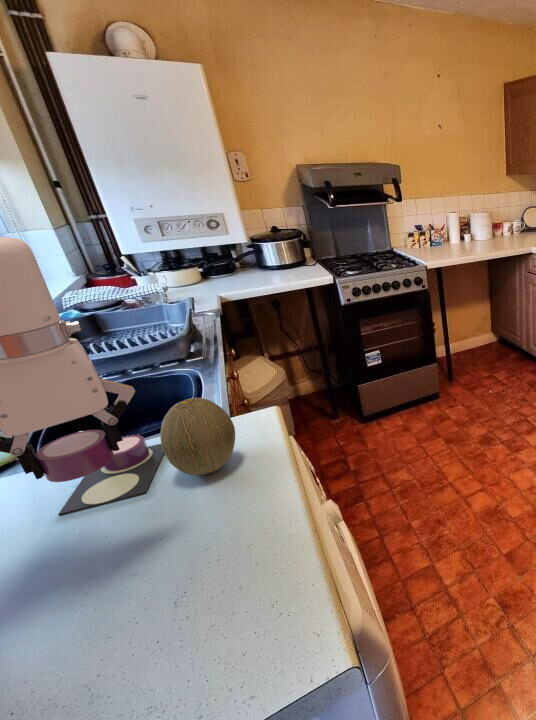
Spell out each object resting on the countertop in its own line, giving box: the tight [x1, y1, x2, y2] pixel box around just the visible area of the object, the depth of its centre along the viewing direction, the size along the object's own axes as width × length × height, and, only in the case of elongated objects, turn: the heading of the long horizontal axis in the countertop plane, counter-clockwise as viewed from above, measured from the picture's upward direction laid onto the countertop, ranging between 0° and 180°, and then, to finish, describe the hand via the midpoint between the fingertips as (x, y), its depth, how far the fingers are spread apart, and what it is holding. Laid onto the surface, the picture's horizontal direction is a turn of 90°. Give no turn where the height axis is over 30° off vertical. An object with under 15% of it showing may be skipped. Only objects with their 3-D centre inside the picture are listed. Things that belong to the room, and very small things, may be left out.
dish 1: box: [35, 429, 114, 483], centre depth 60 cm, size 7×7×4 cm
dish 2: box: [104, 434, 150, 471], centre depth 86 cm, size 7×7×4 cm
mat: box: [57, 443, 165, 516], centre depth 83 cm, size 12×17×1 cm
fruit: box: [160, 397, 236, 476], centre depth 82 cm, size 11×11×15 cm
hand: (78, 459), depth 60 cm, fingers closed on dish 1, 7 cm apart
